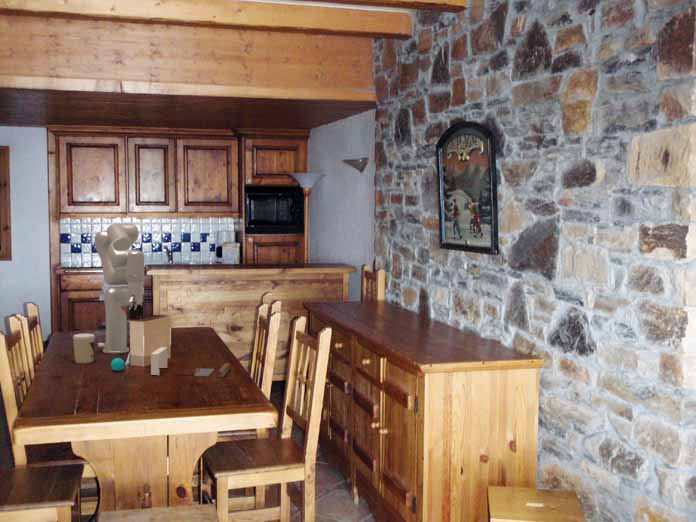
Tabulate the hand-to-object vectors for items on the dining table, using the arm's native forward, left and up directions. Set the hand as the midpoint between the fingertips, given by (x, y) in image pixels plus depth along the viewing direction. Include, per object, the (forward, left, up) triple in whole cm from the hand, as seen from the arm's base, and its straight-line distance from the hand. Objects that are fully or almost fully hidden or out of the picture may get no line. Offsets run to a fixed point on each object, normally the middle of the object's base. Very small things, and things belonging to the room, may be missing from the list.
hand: (136, 317), depth 326 cm
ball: (-4, -13, -19) cm, 23 cm away
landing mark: (+30, -13, -21) cm, 39 cm away
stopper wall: (+42, -13, -21) cm, 49 cm away
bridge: (+14, -13, -21) cm, 29 cm away
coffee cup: (-25, +4, -22) cm, 33 cm away
